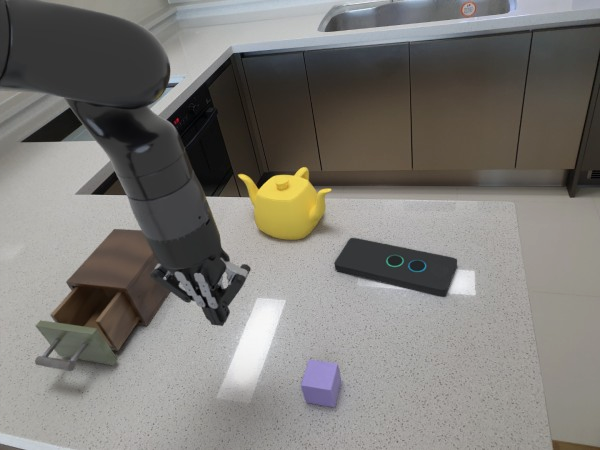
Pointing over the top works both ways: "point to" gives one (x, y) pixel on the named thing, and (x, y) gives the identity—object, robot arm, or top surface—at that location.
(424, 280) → the smart home device
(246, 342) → the top surface
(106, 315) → the drawer
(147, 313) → the cabinet
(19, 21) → the robot arm
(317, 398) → the lavender cube
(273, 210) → the teapot
